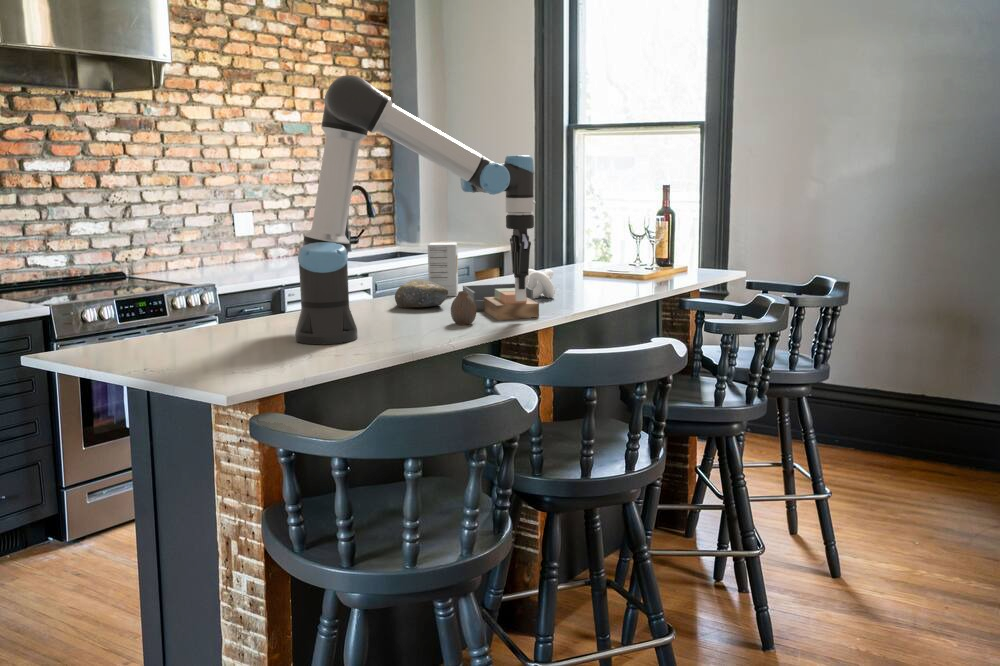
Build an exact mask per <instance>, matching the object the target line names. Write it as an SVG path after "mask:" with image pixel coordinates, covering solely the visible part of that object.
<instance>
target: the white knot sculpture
mask: <svg viewBox="0 0 1000 666" xmlns="http://www.w3.org/2000/svg"><path fill="white" fill-rule="evenodd" d="M528 273H529V274H528V276H526V287H528V288H530V289H532V290H533V300H534V299H536V298H539V297H541V295H542V296H544V297H546V298H548V299H552V298H553V297H555V294H556V289H555V285H554V284H553V282H552V279H553V276H554V272H553V270H552V269H550V268H546V269H545V270H544V271H540V270H536V269H533V268H529V271H528Z"/></svg>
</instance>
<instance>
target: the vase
mask: <svg viewBox="0 0 1000 666" xmlns="http://www.w3.org/2000/svg"><path fill="white" fill-rule="evenodd" d="M450 316H451V319H452V321H453V322H454V323H455V324H456V325H458V326H467V325H471V324H472V323H473V322H475V319H476V317H477V311H476V305H475V302H474V301H473V299H472V298H471V297H470V296H469V294H468V292H467V291H463V290H460V291H459V290H458V294H457V296H455V298H454V299H453V301H452V303H451V306H450Z"/></svg>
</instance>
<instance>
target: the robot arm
mask: <svg viewBox="0 0 1000 666" xmlns="http://www.w3.org/2000/svg"><path fill="white" fill-rule="evenodd" d="M324 96H325V97H324V100H323V101H324V103H323V104H324V109H323V114H322V119H321V120H322V122H321V127H320V128H321V130H322V131H323V133H324V134H325V141H324V147H323V154H322V161H321V166H320V174H319V180H318V185H317V191H316V198H315V203H314V212H313V216H312V217H313V218H312V222H311V223H312V224H311V228H310V230H309V231H306V233H304V236H303V242H302V246H300V248H299V249H298V255H297V263H298V271H299V287H300V307H301V308H300V309H301V310H300V313H299V316H298V322H297V325H296V327H295V342H297V343H300V344H303V345H304V344H305V345H330V344H331V345H333V344H334V345H335V344H343V342H344V343H347V342H351V341H355V340H356V339H358V327H357V325H356V322H355V318H354V317H353V315H352V311H351V307H350V299H349V298H350V295H349V293H350V292H349V274H348V273H349V272H348V261H349V257H348V254H349V248H350V244H351V243H350V241H349V239H348V237H347V236H346V231H347V224H348V217H349V213H350V212H349V210H350V206H351V205H350V204H351V198H352V192H353V186H354V181H355V175H356V169H357V163H358V156H359V149H360V143H361V142H362V141H364V140H365V139H366V138H367V137H368V132H370V134H373V133H376V132H377V133H380V134H381V135H383V136H385V137H387V138H388V139H390V140H392V141H394V142H396V143H397V144H400V145H401V146H403V147H405V148H407V149H408V150H411V152H414V153H416V154H418V155H419V156H420V157H423V158H424V159H427V160H428V161H430V162H432V163H434V164H435V165H437V166H439V167H441V168H443V169H444V170H446V171H448V172H449V173H451V174H453V175H455V176H457V177H458V178H460V188H461V190H462V191H463V192H464V193H473V194H474V193H486V194H490V195H498V194H501V193H503V192H505V213H507V214H506V216H505V228H506V229H508V230H512V235H511V237H510V238H509V243H510V253H511V264H512V265H511V267H512V269H511V270H512V274H513V276H514V277H513V278H514V284H515V301H526V276H528V274H529V273H528V271H529V269H530V266H529V265H530V255H531V254H530V253H531V252H530V251H531V245H532V242H531V241H530V236H529V234H528V229H529V230H530V229H531V230H532V229H534V228H535V216H534V214H532V213H534V210H535V209H534V206H535V205H536V204H537V203H536V201H535V200H534V196H535V195H534V187H535V186H534V182H535V180H534V179H535V178H534V177H535V176H534V175H535V170H534V159H533V157H532V155H527V154H523V155H515V154H514V155H506V156H505V159H504V162H495V161H493V160H491V159H490V158H488V157H486V156H484V155H482V154H481V153H480V152H478V151H476V150H474V149H472V148H470V146H467V145H465V144H464V143H462V142H461V141H458V140H457V139H455V138H453V137H451V136H450V135H448V134H447V133H444V132H442V131H441V130H440V129H438V128H436V127H434V126H433V125H430V124H429V123H427V122H426V121H423V120H422V119H420V118H418V117H416V115H413V114H411V113H410V112H408V111H406V110H404V109H402V108H401V107H399V106H397V105H396V104H395V103H393V101H392V97H390V96H389V95H387V94H385V93H384V92H382V91H380V90H379V89H377V88H376V87H375V86H373V85H372V84H371V83H369V82H368V81H367V80H365V79H364V78H362V77H360V76H358V75H353V74H346V75H342V76H339V77H338V78H336V79H334V81H333V82H331V84H330V85H329V86H328V89H327V90H326V93H325V95H324Z"/></svg>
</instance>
